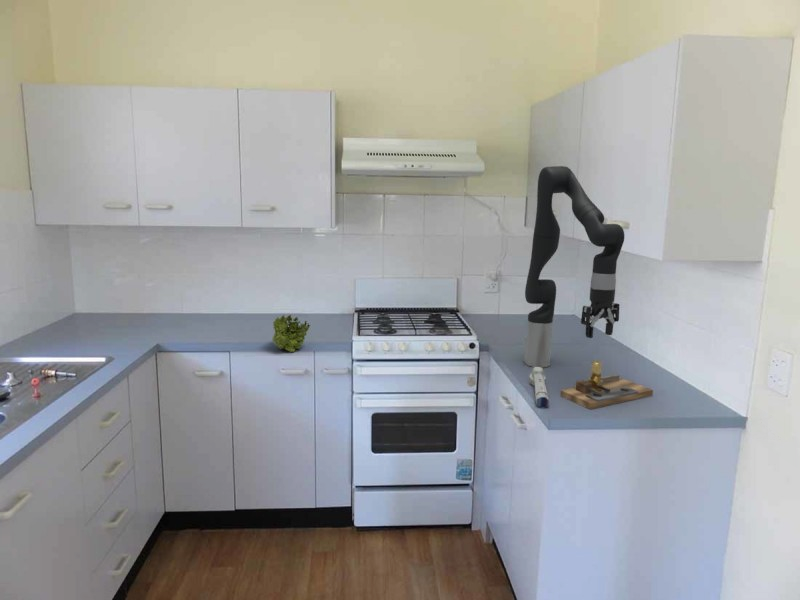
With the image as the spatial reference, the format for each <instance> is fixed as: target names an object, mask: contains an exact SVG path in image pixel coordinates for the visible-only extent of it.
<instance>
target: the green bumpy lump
mask: <svg viewBox="0 0 800 600" xmlns="http://www.w3.org/2000/svg"><path fill="white" fill-rule="evenodd" d="M285 316H286V315H285V314H284V315H282V316H281V317H280V316H278V317H276V319H274V321H273V329H274V333H273V336H272V340H271V341H272V342H273V344H274V345H275V346H276V347H277V348H279V349H280V350H283V349H284V350H285V351H288V352H289V353H293V352H295V351H296V350H298V349H300V348H302V347H301V345H303V344H304V342H305V341H304V340H305V339H306V338H305V336H307V335H308V334H307V332H308V331H309V329H310V327H311V325H310V324H309V323H308V322H307V320H305V321H304V323H302V322H301V320H299V319H298V316H295V318H293V317H292V315H291V314H289V315H287V316H286V317H285Z"/></svg>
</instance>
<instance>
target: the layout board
mask: <svg viewBox="0 0 800 600" xmlns="http://www.w3.org/2000/svg"><path fill="white" fill-rule="evenodd" d="M587 380H588V379H587ZM587 380H584V381H587ZM601 380H602V381H603V387H606V388H608V389H610V392H607V391H604V390H598V392H599V394H595V393H592V392H591V393H586V394H584V393H581V392H579V391H577V390H576V381H575V382H573V387H571V388H565V389H560V395H561V396H560V397H562V398H565V399H566V398H567V400H568V399H569V401H570V402H573V403H575V404H577V405H579V406H582V407H584V408H585V409H588V410H593V409H599V408H603V407H607V406H611V405H612V406H613V405H616V404H621V403H626V402H630V401H635V400H639V399H643V398H649V397H652V396H653V393H654V390H653V389H652V388H649V387H646V386H643V385H641V384H638V383H636V382H634V381H630V380H628V379H625V378H622V377H621V378H620V375H619V374H611V375H606V376H601ZM648 396H649V397H648Z"/></svg>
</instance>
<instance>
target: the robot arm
mask: <svg viewBox="0 0 800 600" xmlns="http://www.w3.org/2000/svg"><path fill="white" fill-rule="evenodd" d="M536 192H537V193H536V194H537V195H536V197H537V198H536V212H535V221H534V222H535V224H534V229H533V235H532V236H533V237H532V247H531V257H530V261H529V262H530V263H529V264H530V265H529V268H528V274H527V279H526V283H525V290H524V297H525V301H526V302H527V303H528V304H532V305H541V306H540V307H539V308H537V309H535V310H533V311H531V312H528V314H527V328H526V329H527V330H526V331H527V333H526V338H524V354H523V363H525V365H526V366H529V367H532V368H534V367H541V368H542V369H543V368H548V367H550V364H551V351H552V338H553V337H552V335H553V322H554V321H553V320H554V319H553V318H554V315H555V304H556V299H557V285H556V282H555V281H554V280H552V279H541V278H540V276H541V273H542V271H543V269H544V267H545V266H546V265H547V263H548V262H549V261H550V260H551V259H552V258H553V256H554V255H555V253H556V252H557V251H558V248H559V242H560V237H561V236H560V235H561V229H560V225H559V222H558V220H557V218H556V216H555V213H554V211H553V195H554V194H562V193H564V194H565V195H567V196H568V197H569V198H570V199H571V210H572V214H573V215H574V217H575V219H577V221H578V222H579V223H580V224H581V225H582V226H583V228H584V230H585V233H586V235H587V237H588V240H589V241H590V243H591V244H592V245H594V246H596V247H600V248H601V247H604V248H603V250H602V252H601V253H598V254H596V255H594V257H593V263H592V272H591V273H592V274H591V278H590V279H591V280H590V287H589V301H590V302H591V303H590V305H588V306H587V305H582V311H581V318H580V324H582V325H584V326H585V337H586V338H589V339H592V338H594V337H593V336H594V325H595V323H596V322H598V321H599V320H601V319H604V320H605V322H606V323H605V329H604V330H605V331H604V332H605V333H604V334H605V335H608V336H612V335H613V332H614V324H615V323H616V322H617V323H618V322H619V320H620V304H619V303H616V302H615V298H616V288H617V287H616V286H617V285H616V284H617V276H616V275H617V261H618V258H619V256H620V254H621V251H622V248H623V245H624V241H625V231H624V229H623V227H622V226H621V225H620V224H617V223H604V222H605V215H604V213H603V212H602V211H601V210H600V208H599V207H597V206H596V204H595V203H594V202H593V201H592V200H591V199H590V197H589V196H588V195H587V193H586V192H585V190H584V188H583V187H582V185H581V183H580V182H579V180H578V178H577V177H576V175H575V173H574V172H573V171H572V169H571V168H569V167H568V166H563V165H558V166H556V165H555V166H545V167H543V168H542V169H541V170H540V171H539V174H538V178H537V190H536Z"/></svg>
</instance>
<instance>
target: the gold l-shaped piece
mask: <svg viewBox="0 0 800 600" xmlns="http://www.w3.org/2000/svg"><path fill="white" fill-rule="evenodd" d="M602 367H603V362H602V361H599V360H591V366H590V377H589V378H587V382H589V383H592V389H594V390H596V391H598V390H604V391H607V392H610V389H608V388H606V387H603V381H602V380H601V377H602Z"/></svg>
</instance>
